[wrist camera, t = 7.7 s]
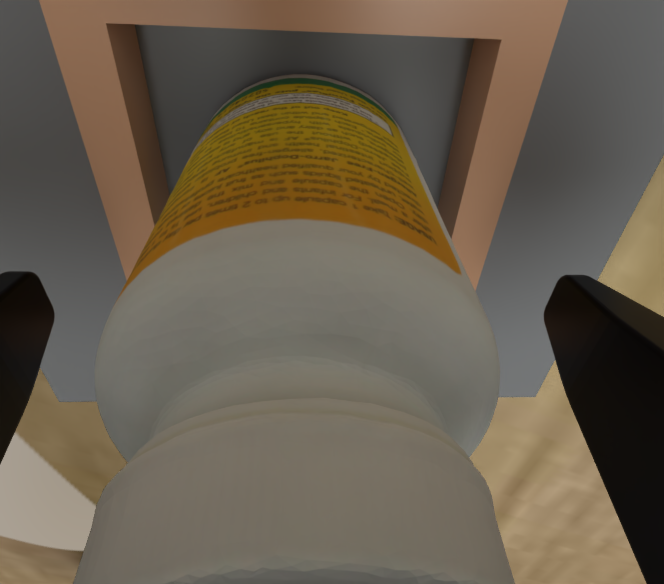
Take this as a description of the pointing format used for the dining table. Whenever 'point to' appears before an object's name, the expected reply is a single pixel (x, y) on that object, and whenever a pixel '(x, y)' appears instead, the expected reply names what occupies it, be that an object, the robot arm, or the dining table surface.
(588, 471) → the dining table surface
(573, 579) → the dining table surface
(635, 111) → the base plate
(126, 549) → the supplement bottle
